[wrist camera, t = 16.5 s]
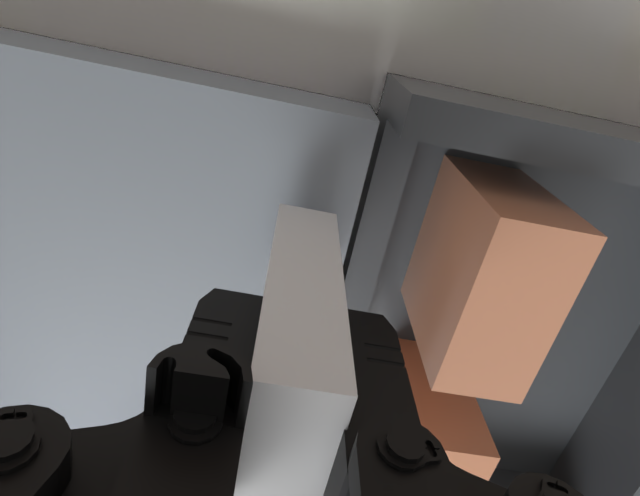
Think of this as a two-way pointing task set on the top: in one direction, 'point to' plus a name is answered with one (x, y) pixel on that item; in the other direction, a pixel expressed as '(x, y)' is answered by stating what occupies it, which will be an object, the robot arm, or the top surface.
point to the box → (591, 303)
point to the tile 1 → (451, 419)
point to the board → (144, 208)
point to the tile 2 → (493, 278)
